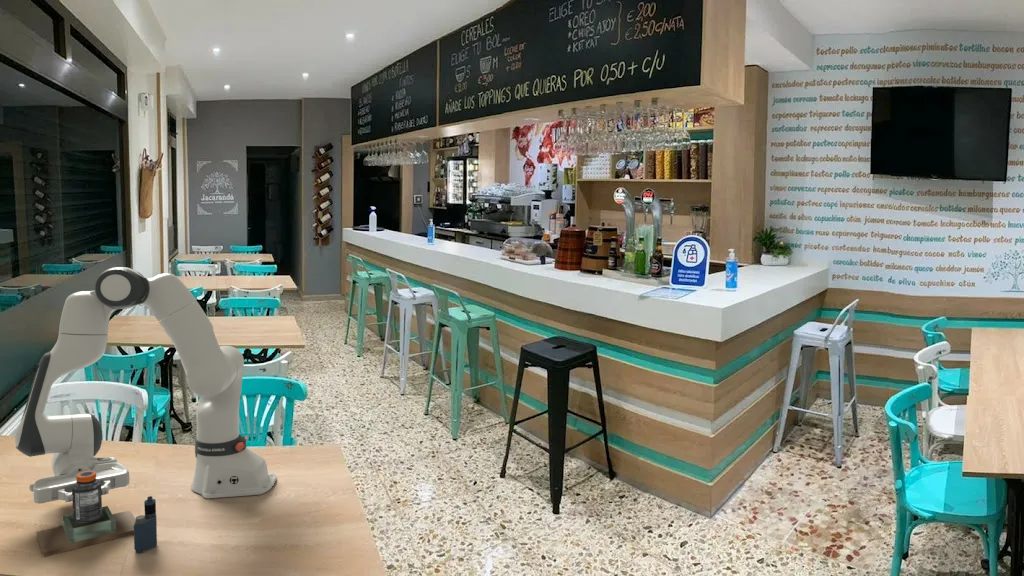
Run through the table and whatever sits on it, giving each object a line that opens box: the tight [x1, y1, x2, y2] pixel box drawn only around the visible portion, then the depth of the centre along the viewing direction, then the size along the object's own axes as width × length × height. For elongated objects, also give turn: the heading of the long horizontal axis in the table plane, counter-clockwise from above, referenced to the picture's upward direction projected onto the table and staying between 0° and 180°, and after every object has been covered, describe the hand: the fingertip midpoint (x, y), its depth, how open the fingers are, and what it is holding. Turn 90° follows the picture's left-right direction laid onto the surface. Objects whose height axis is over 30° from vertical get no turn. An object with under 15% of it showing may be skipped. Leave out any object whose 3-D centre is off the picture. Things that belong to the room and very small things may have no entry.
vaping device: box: [133, 495, 158, 554], centre depth 162 cm, size 3×5×12 cm, turn 155°
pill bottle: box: [72, 471, 103, 523], centre depth 167 cm, size 6×6×11 cm
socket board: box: [36, 505, 136, 557], centre depth 168 cm, size 20×12×4 cm, turn 130°
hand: (87, 495), depth 167 cm, fingers closed on pill bottle, 6 cm apart
